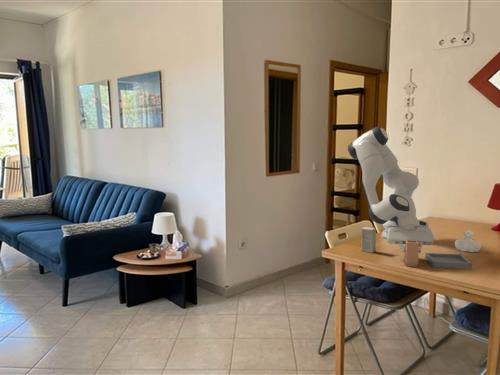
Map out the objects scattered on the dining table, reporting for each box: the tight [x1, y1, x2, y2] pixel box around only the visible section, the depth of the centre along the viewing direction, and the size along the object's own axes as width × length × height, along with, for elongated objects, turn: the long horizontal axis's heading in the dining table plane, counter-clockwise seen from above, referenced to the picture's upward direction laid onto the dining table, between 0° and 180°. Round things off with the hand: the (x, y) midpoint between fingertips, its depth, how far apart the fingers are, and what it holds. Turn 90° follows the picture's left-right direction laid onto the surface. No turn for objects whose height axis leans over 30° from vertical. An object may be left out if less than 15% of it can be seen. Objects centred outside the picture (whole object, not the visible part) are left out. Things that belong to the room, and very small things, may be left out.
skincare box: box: [360, 226, 377, 254], centre depth 206 cm, size 6×4×12 cm
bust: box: [454, 230, 482, 253], centre depth 205 cm, size 12×8×11 cm
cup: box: [403, 240, 420, 268], centre depth 184 cm, size 5×5×11 cm
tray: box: [424, 252, 473, 270], centre depth 186 cm, size 14×16×2 cm
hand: (411, 251), depth 183 cm, fingers closed on cup, 5 cm apart
